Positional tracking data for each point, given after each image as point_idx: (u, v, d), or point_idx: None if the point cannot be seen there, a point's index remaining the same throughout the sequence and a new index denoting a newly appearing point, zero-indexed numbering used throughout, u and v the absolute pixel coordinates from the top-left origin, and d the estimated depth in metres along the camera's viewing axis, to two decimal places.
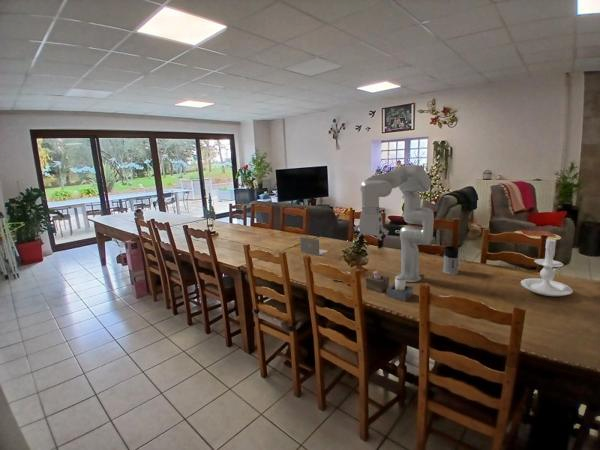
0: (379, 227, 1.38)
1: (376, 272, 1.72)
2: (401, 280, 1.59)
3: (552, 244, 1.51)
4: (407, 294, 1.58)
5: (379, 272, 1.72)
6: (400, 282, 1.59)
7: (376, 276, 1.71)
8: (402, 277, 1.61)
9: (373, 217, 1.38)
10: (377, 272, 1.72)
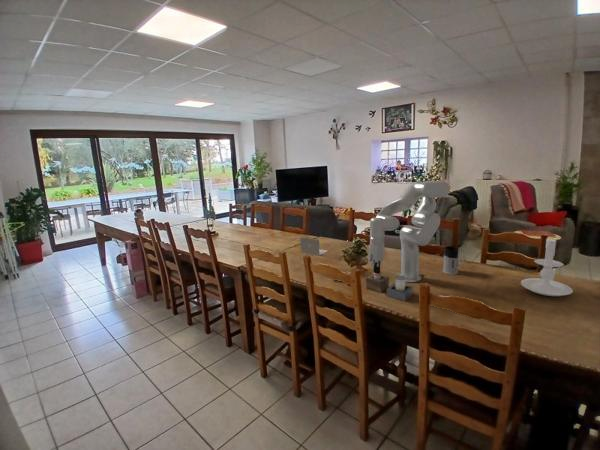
0: None
1: None
2: (401, 280, 1.59)
3: (552, 244, 1.51)
4: (407, 294, 1.58)
5: None
6: (400, 282, 1.59)
7: (376, 276, 1.71)
8: (402, 277, 1.61)
9: (383, 244, 1.69)
10: None
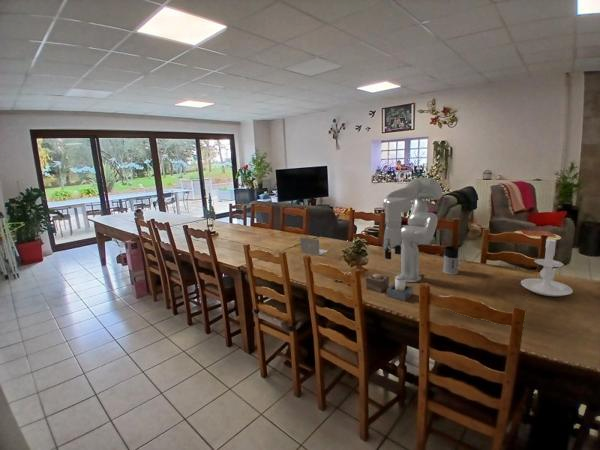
0: None
1: (376, 275, 1.72)
2: (401, 280, 1.59)
3: (552, 244, 1.51)
4: (407, 294, 1.58)
5: (379, 275, 1.72)
6: (400, 282, 1.59)
7: None
8: (402, 277, 1.61)
9: (400, 229, 1.59)
10: (377, 275, 1.72)
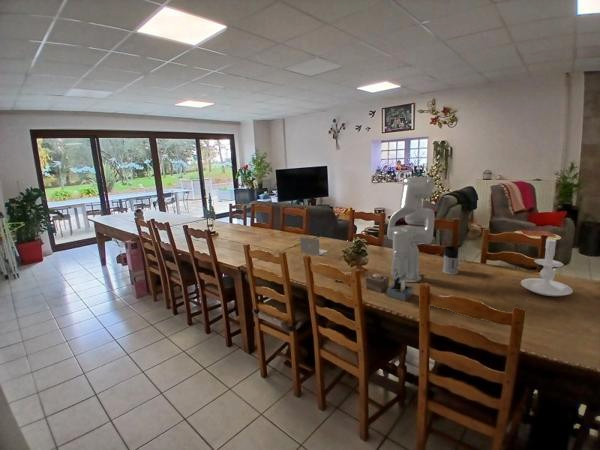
0: None
1: (376, 275, 1.72)
2: (401, 280, 1.59)
3: (552, 244, 1.51)
4: (407, 294, 1.58)
5: (379, 275, 1.72)
6: (400, 282, 1.59)
7: None
8: (402, 277, 1.60)
9: (406, 258, 1.59)
10: (377, 275, 1.72)
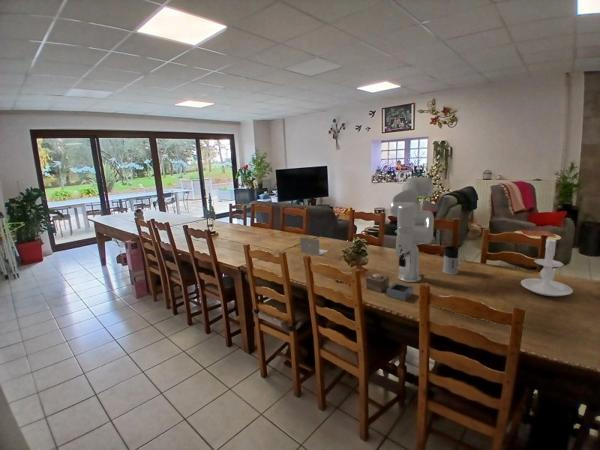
0: None
1: (376, 275, 1.72)
2: (406, 256, 1.54)
3: (552, 244, 1.51)
4: (407, 294, 1.58)
5: (379, 275, 1.72)
6: (405, 258, 1.55)
7: None
8: (407, 254, 1.56)
9: (412, 234, 1.55)
10: (377, 275, 1.72)
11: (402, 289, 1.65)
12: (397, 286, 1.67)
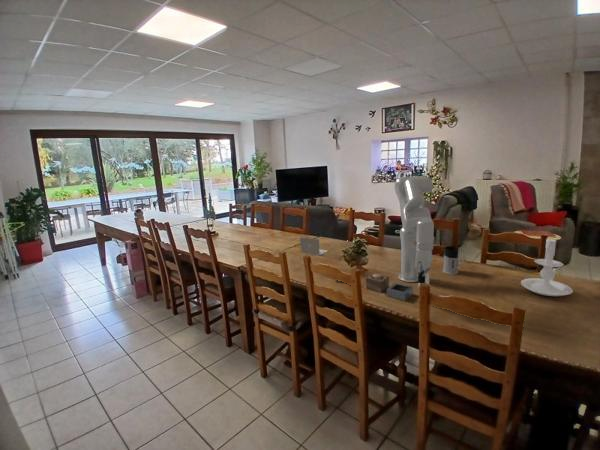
0: None
1: (376, 275, 1.72)
2: (425, 273, 1.49)
3: (552, 244, 1.51)
4: (407, 294, 1.58)
5: (379, 275, 1.72)
6: (424, 275, 1.50)
7: None
8: (426, 270, 1.51)
9: (431, 250, 1.50)
10: (377, 275, 1.72)
11: (402, 289, 1.65)
12: (397, 286, 1.67)
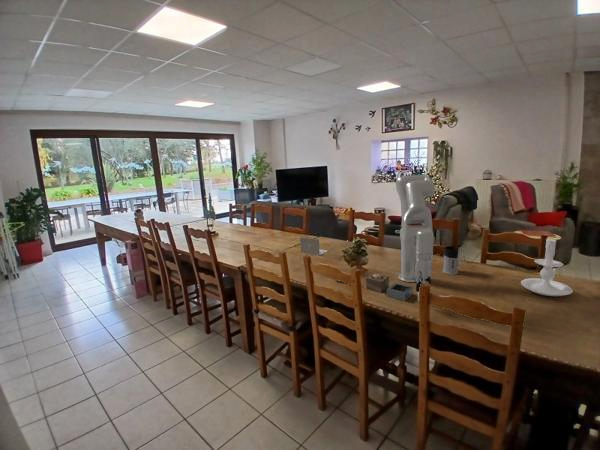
0: None
1: (376, 275, 1.72)
2: None
3: (552, 244, 1.51)
4: (407, 294, 1.58)
5: (379, 275, 1.72)
6: None
7: None
8: (426, 282, 1.53)
9: None
10: (377, 275, 1.72)
11: (402, 289, 1.65)
12: (397, 286, 1.67)
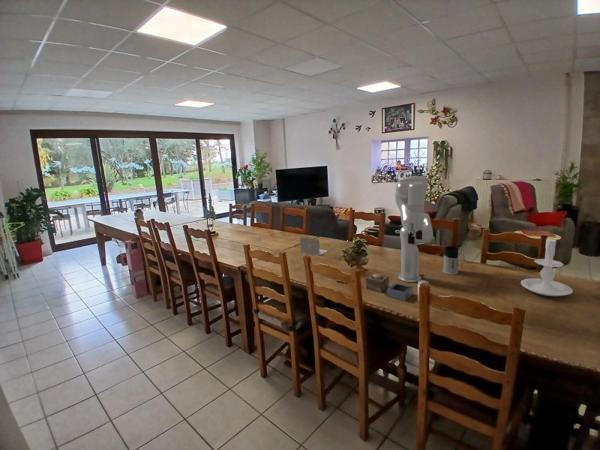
0: None
1: (376, 275, 1.72)
2: None
3: (552, 244, 1.51)
4: (407, 294, 1.58)
5: (379, 275, 1.72)
6: None
7: None
8: (425, 282, 1.53)
9: (422, 213, 1.56)
10: (377, 275, 1.72)
11: (402, 289, 1.65)
12: (397, 286, 1.67)
